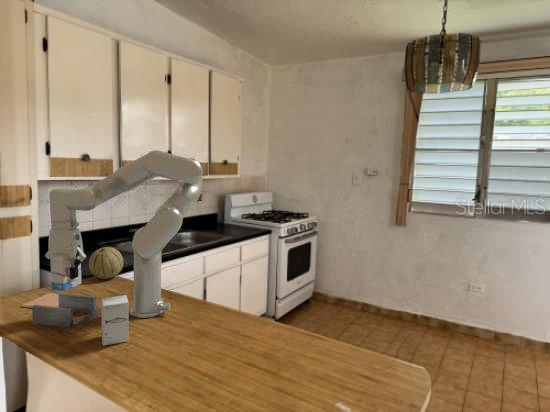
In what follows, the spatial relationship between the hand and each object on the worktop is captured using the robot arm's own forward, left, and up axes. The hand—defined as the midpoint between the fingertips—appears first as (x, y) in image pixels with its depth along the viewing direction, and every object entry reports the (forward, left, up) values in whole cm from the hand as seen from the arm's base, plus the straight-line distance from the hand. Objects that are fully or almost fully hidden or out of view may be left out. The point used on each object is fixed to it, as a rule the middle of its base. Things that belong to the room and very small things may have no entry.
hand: (66, 276), depth 126 cm
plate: (+16, -11, -15) cm, 24 cm away
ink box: (0, 0, -4) cm, 4 cm away
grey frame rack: (+1, 0, -15) cm, 15 cm away
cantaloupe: (+14, -43, -15) cm, 48 cm away
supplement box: (-24, +10, -15) cm, 30 cm away
